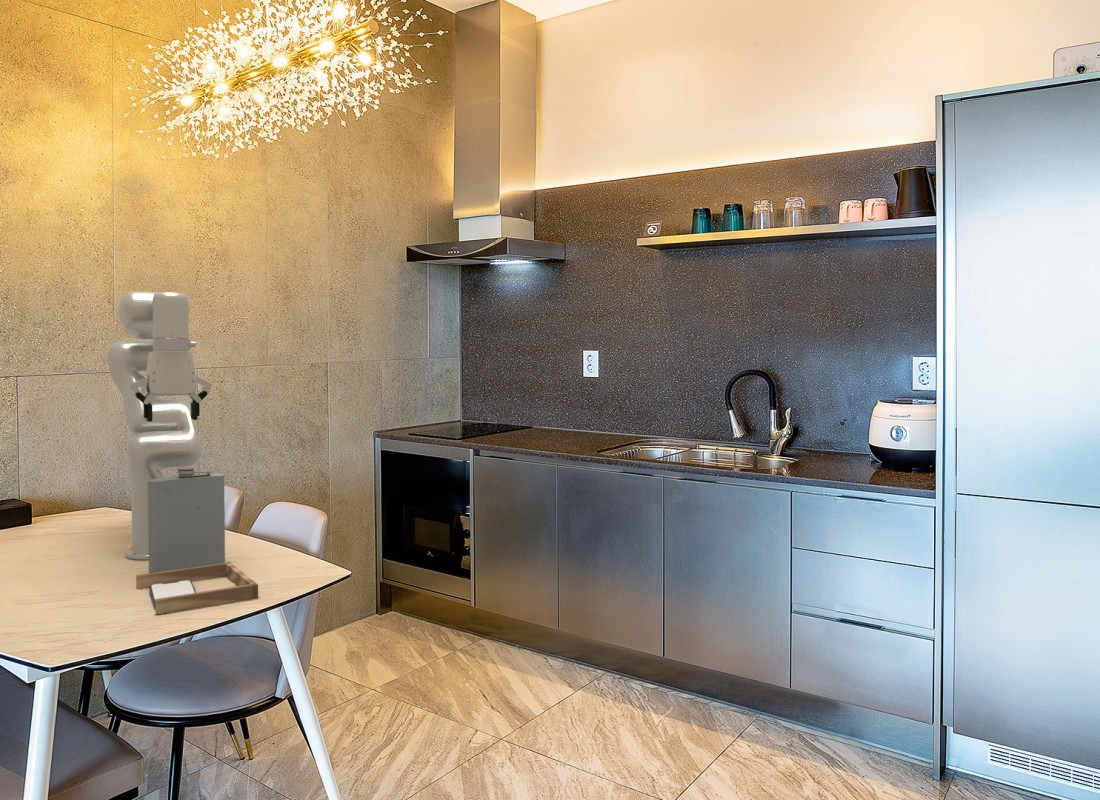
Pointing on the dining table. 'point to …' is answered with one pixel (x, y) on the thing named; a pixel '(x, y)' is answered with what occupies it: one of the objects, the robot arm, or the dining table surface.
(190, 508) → the upright grey panel
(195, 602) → the wooden u-shaped frame
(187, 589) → the smartphone
